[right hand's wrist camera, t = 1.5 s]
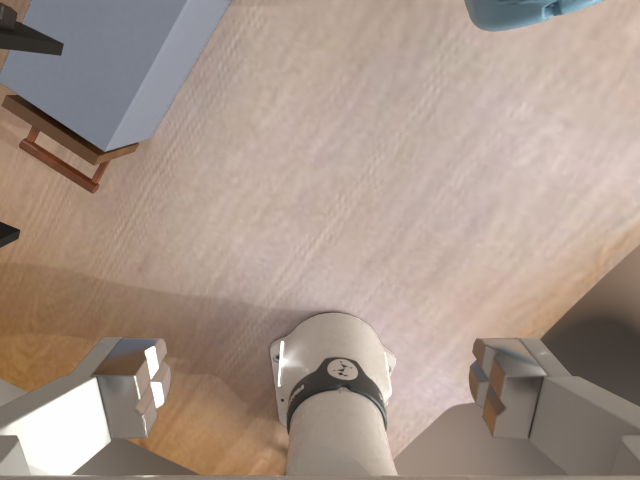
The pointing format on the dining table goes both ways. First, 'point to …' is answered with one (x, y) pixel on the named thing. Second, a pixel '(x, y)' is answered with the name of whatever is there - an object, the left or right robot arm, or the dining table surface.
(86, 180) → the drawer
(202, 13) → the cabinet
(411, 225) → the dining table surface
